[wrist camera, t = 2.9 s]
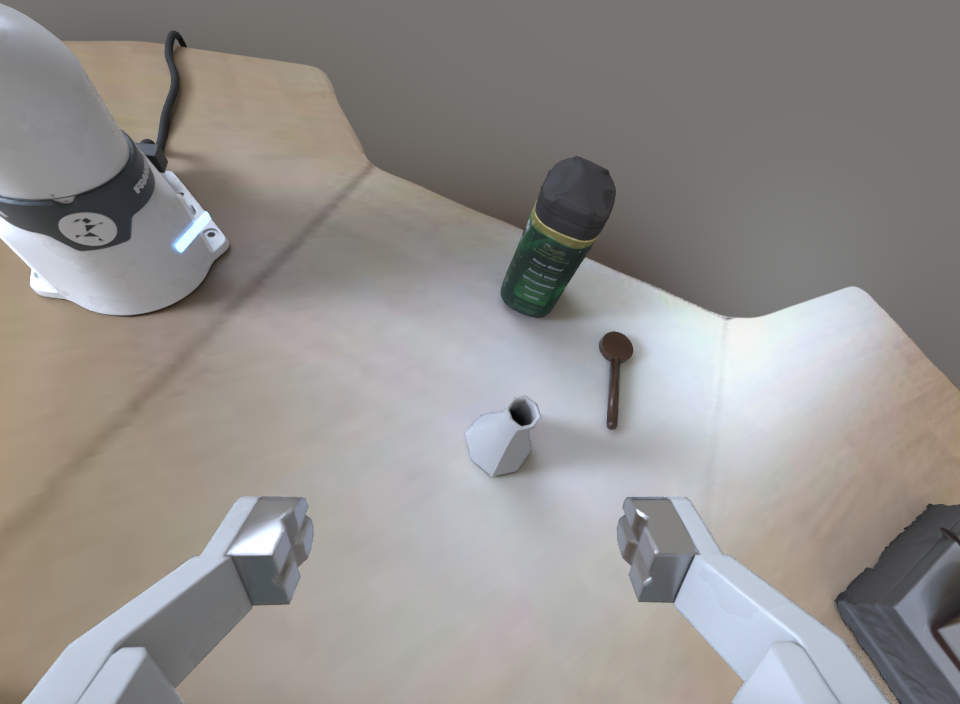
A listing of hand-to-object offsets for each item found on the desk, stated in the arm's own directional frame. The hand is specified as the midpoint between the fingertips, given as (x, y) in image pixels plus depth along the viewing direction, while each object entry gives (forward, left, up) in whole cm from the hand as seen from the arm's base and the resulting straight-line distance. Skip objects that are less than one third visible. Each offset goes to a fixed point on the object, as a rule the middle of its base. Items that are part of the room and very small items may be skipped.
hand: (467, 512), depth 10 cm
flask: (-5, +13, -32) cm, 35 cm away
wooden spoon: (-5, +32, -32) cm, 45 cm away
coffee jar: (-21, +29, -32) cm, 48 cm away
